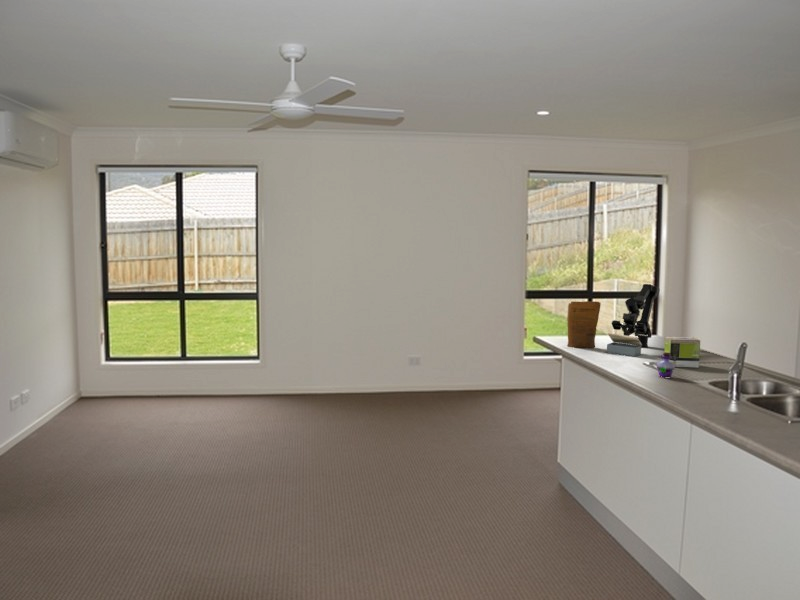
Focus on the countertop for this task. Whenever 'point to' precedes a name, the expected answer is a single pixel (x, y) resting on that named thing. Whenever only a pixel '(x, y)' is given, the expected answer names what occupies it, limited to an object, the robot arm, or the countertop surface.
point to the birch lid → (625, 339)
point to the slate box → (624, 349)
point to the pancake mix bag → (582, 323)
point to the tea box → (683, 351)
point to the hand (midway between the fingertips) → (624, 338)
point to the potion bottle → (665, 365)
